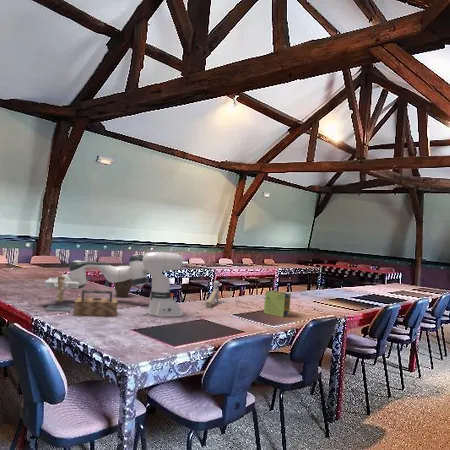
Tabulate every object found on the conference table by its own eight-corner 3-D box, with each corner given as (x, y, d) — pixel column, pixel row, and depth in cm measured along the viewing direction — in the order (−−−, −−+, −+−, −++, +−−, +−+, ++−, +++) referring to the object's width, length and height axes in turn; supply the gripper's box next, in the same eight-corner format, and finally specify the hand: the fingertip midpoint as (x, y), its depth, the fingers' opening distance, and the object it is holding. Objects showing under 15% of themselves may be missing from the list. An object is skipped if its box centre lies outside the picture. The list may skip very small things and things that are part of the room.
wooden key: (63, 300, 261) (65, 276, 261) (62, 301, 257) (64, 277, 257) (56, 300, 260) (58, 275, 260) (55, 301, 256) (57, 276, 257)
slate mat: (72, 306, 267) (72, 305, 267) (70, 311, 254) (70, 310, 254) (48, 306, 264) (49, 305, 264) (45, 310, 250) (45, 309, 250)
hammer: (211, 295, 299) (220, 280, 328) (205, 294, 300) (214, 280, 328) (211, 315, 302) (219, 299, 331) (204, 314, 303) (213, 299, 332)
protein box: (283, 317, 289) (285, 294, 290) (263, 313, 298) (265, 291, 298) (289, 315, 298) (291, 293, 299) (269, 311, 306) (271, 290, 307)
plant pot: (110, 294, 322) (112, 273, 322) (129, 294, 328) (131, 274, 328) (113, 298, 309) (115, 276, 309) (134, 298, 315) (135, 276, 315)
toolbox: (116, 311, 264) (118, 288, 264) (116, 316, 251) (118, 292, 251) (76, 310, 258) (78, 286, 258) (73, 315, 245) (75, 290, 245)
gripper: (79, 288, 274) (77, 292, 260) (46, 287, 269) (42, 290, 255) (80, 279, 274) (78, 282, 260) (47, 277, 269) (43, 280, 255)
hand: (60, 286), depth 258 cm, fingers closed on wooden key, 4 cm apart
